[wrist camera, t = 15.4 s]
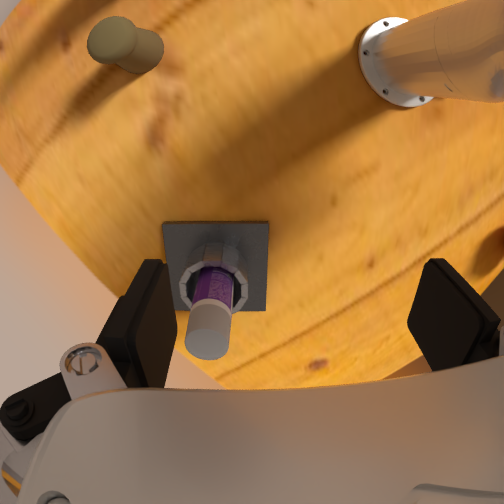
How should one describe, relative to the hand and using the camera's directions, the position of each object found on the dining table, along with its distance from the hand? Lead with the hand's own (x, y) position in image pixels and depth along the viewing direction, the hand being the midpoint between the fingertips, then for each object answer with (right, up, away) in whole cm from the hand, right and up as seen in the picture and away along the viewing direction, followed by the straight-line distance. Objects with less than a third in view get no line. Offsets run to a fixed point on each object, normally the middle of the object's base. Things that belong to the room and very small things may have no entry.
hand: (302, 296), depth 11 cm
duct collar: (-7, -1, +34) cm, 35 cm away
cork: (-15, +26, +21) cm, 37 cm away
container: (-6, -1, +33) cm, 34 cm away
